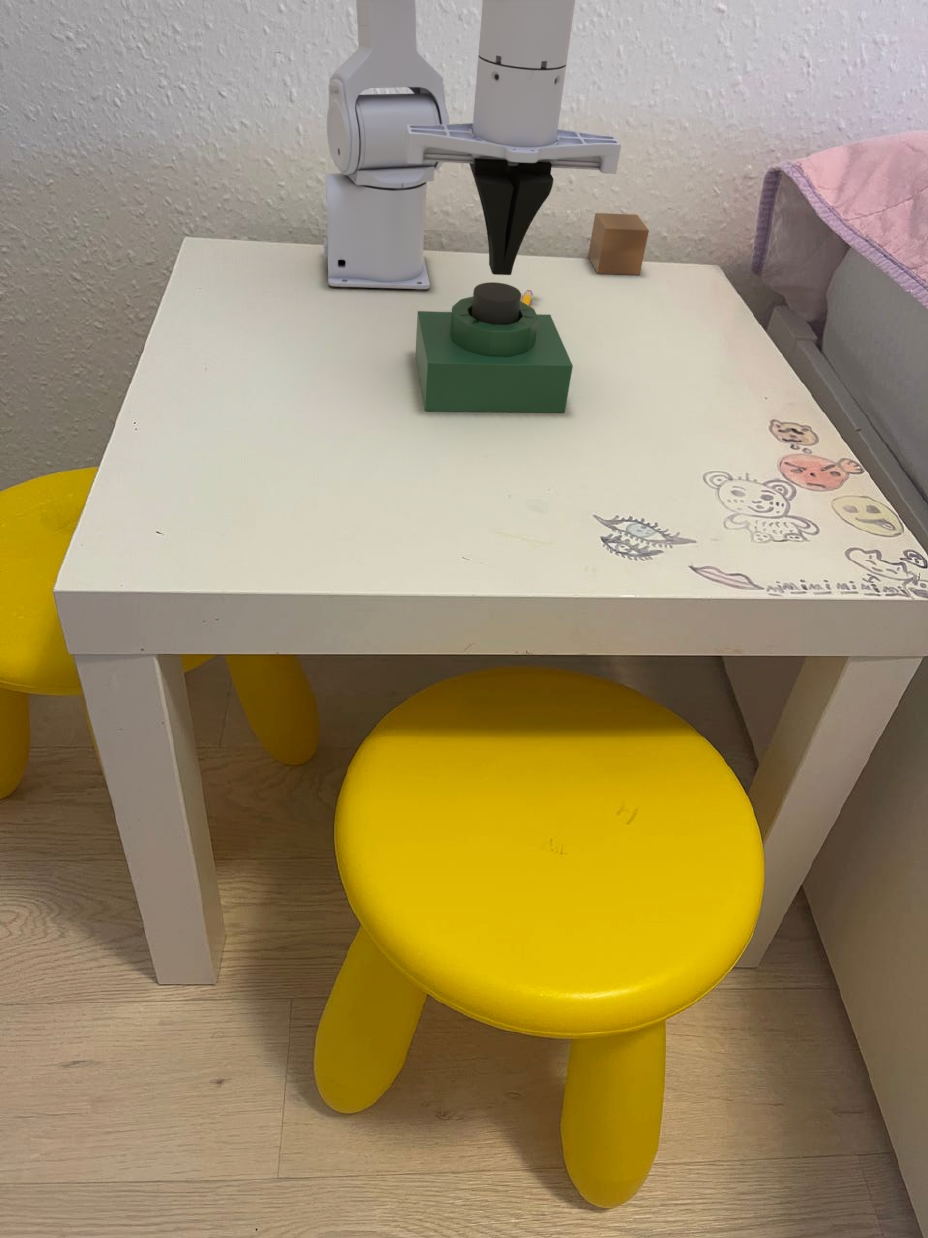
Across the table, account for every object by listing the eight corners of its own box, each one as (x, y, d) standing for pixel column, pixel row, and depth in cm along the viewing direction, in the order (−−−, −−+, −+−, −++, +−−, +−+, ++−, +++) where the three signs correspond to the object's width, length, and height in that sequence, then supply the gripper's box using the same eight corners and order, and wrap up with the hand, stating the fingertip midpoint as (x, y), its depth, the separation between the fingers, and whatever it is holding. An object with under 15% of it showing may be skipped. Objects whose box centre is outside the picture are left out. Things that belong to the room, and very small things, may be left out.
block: (597, 273, 94) (605, 228, 91) (587, 256, 97) (595, 212, 94) (639, 274, 95) (649, 230, 92) (628, 258, 98) (637, 214, 95)
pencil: (532, 297, 88) (533, 290, 87) (518, 334, 81) (519, 327, 81) (524, 296, 88) (525, 289, 87) (509, 333, 82) (510, 326, 81)
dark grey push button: (474, 327, 69) (477, 300, 68) (468, 306, 72) (470, 281, 70) (521, 328, 70) (524, 302, 68) (513, 308, 72) (517, 282, 71)
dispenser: (424, 411, 70) (429, 337, 66) (415, 356, 77) (418, 286, 73) (564, 412, 72) (577, 340, 68) (543, 359, 79) (553, 290, 75)
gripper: (415, 66, 55) (406, 288, 64) (647, 81, 57) (607, 294, 66) (406, 41, 60) (399, 250, 69) (619, 56, 62) (585, 257, 72)
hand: (499, 269), depth 68 cm, fingers closed
